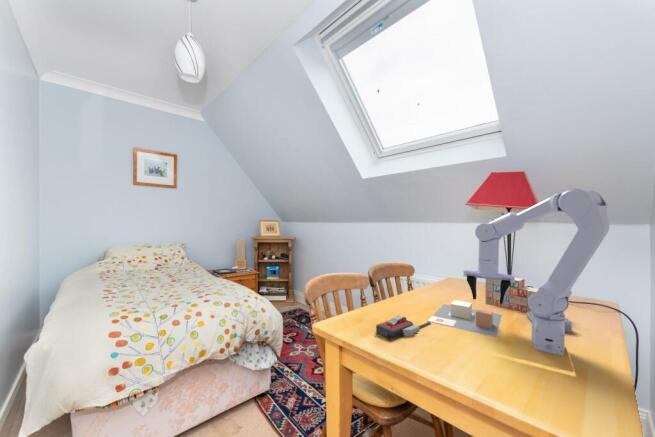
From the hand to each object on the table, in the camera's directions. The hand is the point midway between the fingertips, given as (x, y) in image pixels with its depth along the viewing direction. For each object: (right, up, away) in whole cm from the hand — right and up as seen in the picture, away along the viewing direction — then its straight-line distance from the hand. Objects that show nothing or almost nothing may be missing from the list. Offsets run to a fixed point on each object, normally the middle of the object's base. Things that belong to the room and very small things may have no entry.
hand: (487, 300), depth 92 cm
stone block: (+21, -9, +2) cm, 23 cm away
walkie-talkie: (-29, -9, -4) cm, 30 cm away
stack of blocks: (+22, -9, +18) cm, 30 cm away
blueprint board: (-5, -8, +5) cm, 11 cm away
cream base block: (-4, -8, +9) cm, 13 cm away
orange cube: (-1, -8, -1) cm, 8 cm away
